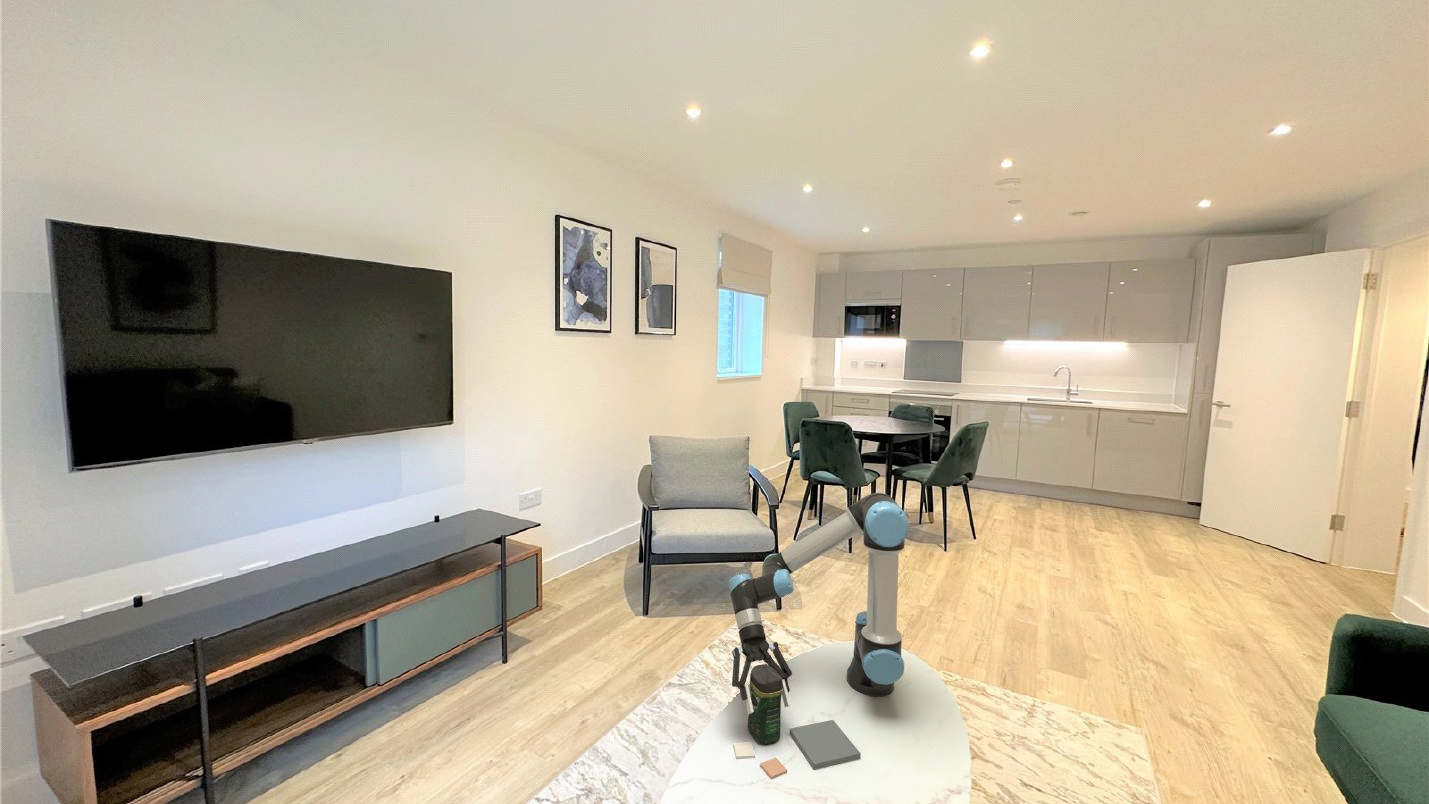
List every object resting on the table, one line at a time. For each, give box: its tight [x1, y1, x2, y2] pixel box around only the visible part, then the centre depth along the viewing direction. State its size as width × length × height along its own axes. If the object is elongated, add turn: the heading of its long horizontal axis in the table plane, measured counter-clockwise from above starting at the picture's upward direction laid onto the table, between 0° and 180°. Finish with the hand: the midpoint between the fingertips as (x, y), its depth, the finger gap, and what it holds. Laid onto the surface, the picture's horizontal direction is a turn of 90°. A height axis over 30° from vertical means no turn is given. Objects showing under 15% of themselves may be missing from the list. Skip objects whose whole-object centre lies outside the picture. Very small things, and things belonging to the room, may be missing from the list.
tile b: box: [732, 741, 756, 760], centre depth 148 cm, size 5×5×1 cm
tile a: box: [759, 757, 788, 780], centre depth 142 cm, size 5×5×1 cm
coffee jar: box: [747, 663, 783, 745], centre depth 155 cm, size 10×8×19 cm
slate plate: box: [788, 719, 862, 770], centre depth 151 cm, size 14×14×2 cm
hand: (769, 709), depth 152 cm, fingers open, 10 cm apart
